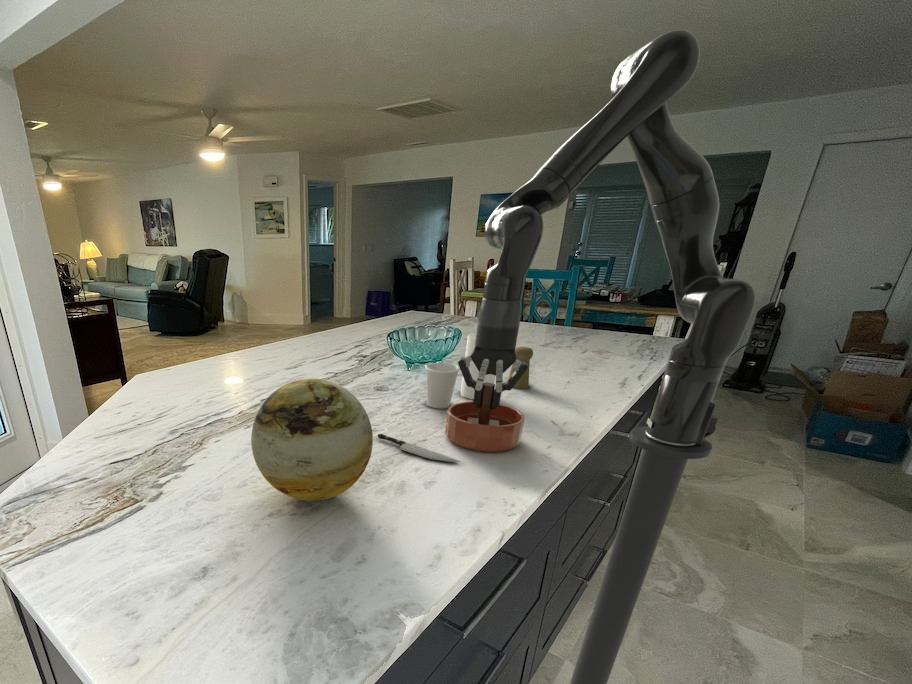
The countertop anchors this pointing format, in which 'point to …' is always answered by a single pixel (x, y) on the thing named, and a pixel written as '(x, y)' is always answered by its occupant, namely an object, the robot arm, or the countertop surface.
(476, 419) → the scrub brush
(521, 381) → the olive pepper shaker
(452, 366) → the dixie cup
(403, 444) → the chef's knife
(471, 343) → the white tall cylinder
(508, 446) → the bowl
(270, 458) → the decorative sphere
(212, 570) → the countertop surface
